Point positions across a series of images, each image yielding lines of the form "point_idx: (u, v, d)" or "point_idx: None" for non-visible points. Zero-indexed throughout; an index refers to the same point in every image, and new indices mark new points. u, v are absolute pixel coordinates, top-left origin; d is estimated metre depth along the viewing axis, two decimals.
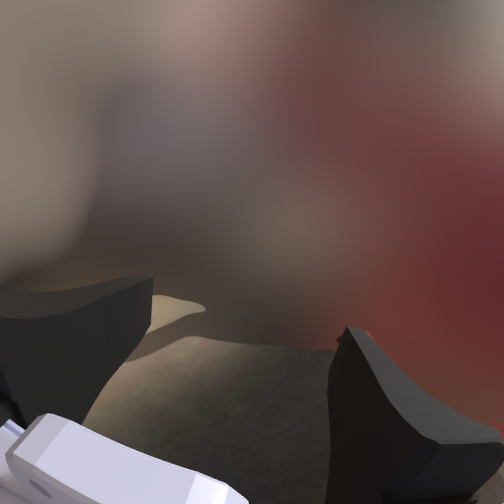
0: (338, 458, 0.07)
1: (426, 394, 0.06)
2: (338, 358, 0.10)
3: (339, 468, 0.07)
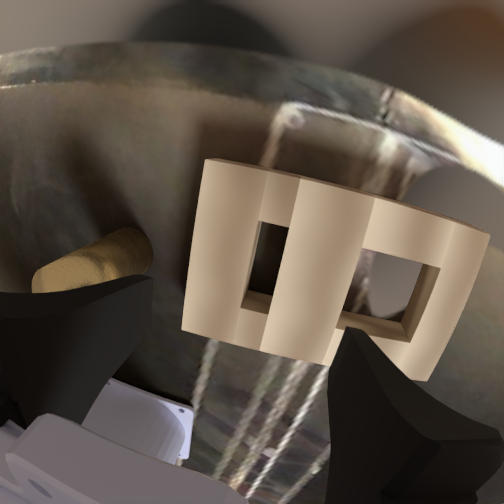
0: (338, 458, 0.07)
1: (426, 394, 0.06)
2: (338, 358, 0.10)
3: (339, 468, 0.07)
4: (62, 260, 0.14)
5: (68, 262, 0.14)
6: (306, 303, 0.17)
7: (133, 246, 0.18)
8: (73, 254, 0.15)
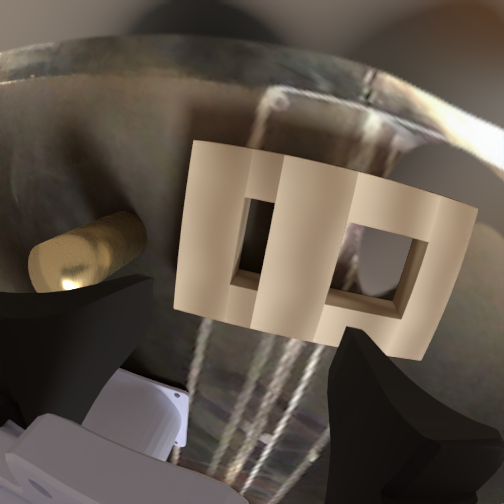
0: (338, 458, 0.07)
1: (426, 394, 0.06)
2: (338, 358, 0.10)
3: (339, 468, 0.07)
4: (57, 238, 0.14)
5: (62, 239, 0.14)
6: (294, 278, 0.17)
7: (127, 227, 0.19)
8: (68, 233, 0.15)
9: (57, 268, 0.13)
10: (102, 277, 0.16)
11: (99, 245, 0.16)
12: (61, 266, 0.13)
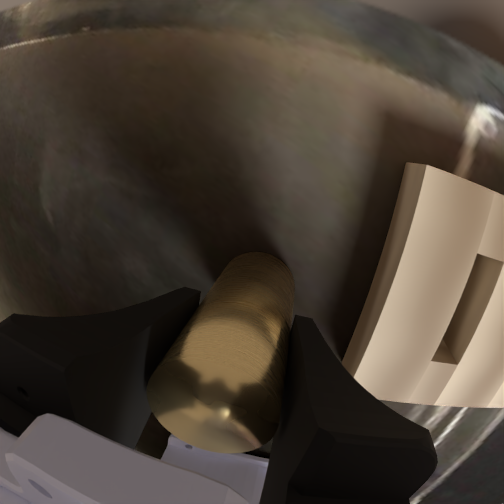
0: (274, 448, 0.08)
1: (358, 385, 0.06)
2: None
3: (273, 458, 0.07)
4: (219, 335, 0.08)
5: (236, 340, 0.08)
6: (497, 347, 0.11)
7: (286, 285, 0.12)
8: (227, 316, 0.09)
9: (239, 403, 0.07)
10: None
11: (282, 333, 0.09)
12: (253, 401, 0.07)
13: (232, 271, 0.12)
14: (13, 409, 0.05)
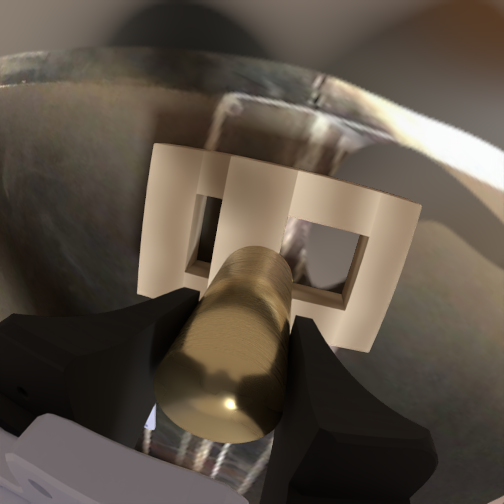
0: (275, 448, 0.08)
1: (358, 385, 0.06)
2: None
3: (273, 458, 0.07)
4: (226, 326, 0.08)
5: (242, 331, 0.08)
6: None
7: (285, 279, 0.13)
8: (232, 308, 0.09)
9: (245, 393, 0.07)
10: None
11: (284, 325, 0.10)
12: (259, 390, 0.07)
13: (233, 264, 0.12)
14: (13, 409, 0.05)
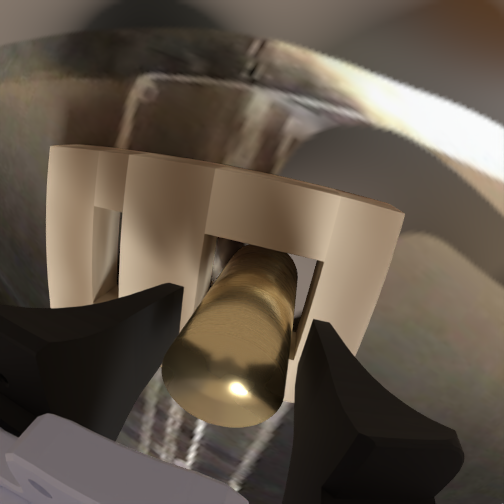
0: (297, 452, 0.07)
1: (383, 389, 0.06)
2: (305, 351, 0.11)
3: (296, 462, 0.07)
4: (231, 313, 0.09)
5: (246, 318, 0.08)
6: None
7: (290, 274, 0.13)
8: (238, 298, 0.09)
9: (248, 376, 0.08)
10: None
11: (287, 316, 0.10)
12: (261, 374, 0.08)
13: (240, 259, 0.13)
14: None
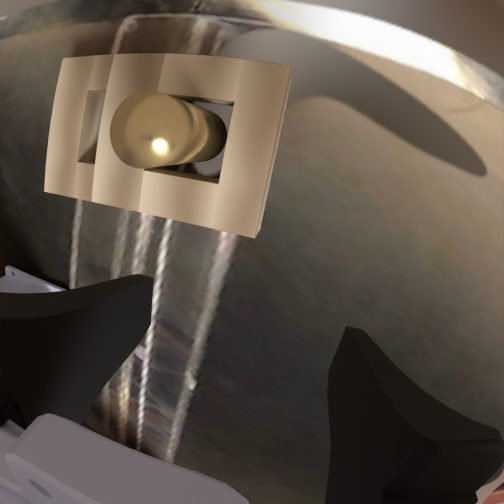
0: (338, 458, 0.07)
1: (426, 394, 0.06)
2: (338, 358, 0.10)
3: (339, 468, 0.07)
4: None
5: None
6: None
7: (214, 117, 0.17)
8: None
9: (158, 116, 0.12)
10: (194, 150, 0.15)
11: (198, 114, 0.14)
12: (166, 112, 0.12)
13: None
14: None
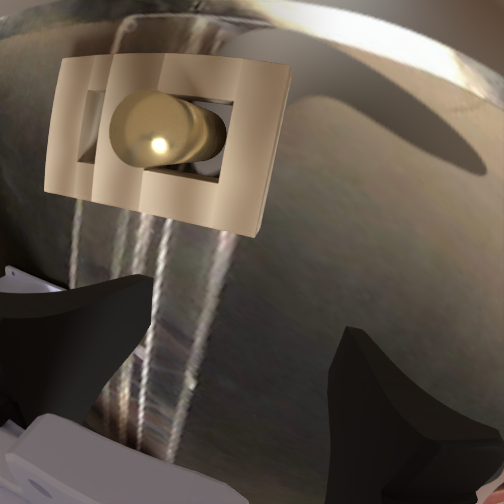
0: (338, 458, 0.07)
1: (426, 394, 0.06)
2: (338, 358, 0.10)
3: (339, 468, 0.07)
4: None
5: None
6: None
7: (214, 117, 0.17)
8: None
9: (158, 115, 0.12)
10: (194, 150, 0.15)
11: (197, 113, 0.14)
12: (165, 111, 0.12)
13: None
14: None
